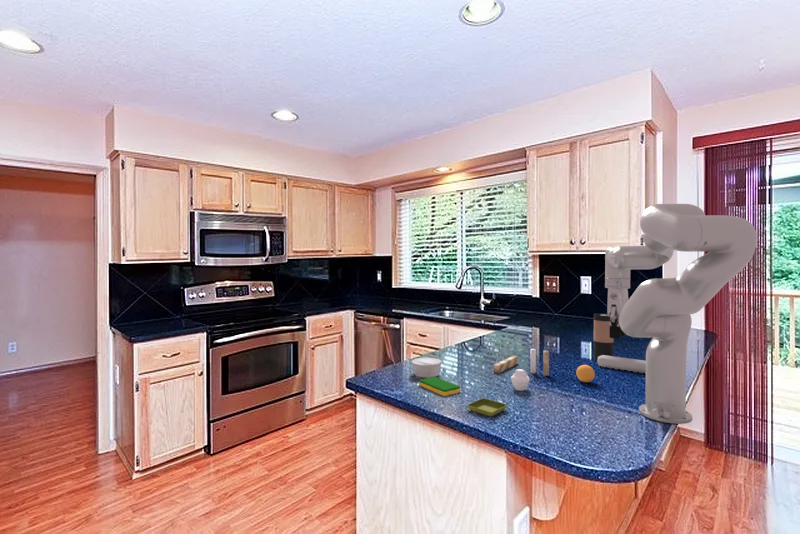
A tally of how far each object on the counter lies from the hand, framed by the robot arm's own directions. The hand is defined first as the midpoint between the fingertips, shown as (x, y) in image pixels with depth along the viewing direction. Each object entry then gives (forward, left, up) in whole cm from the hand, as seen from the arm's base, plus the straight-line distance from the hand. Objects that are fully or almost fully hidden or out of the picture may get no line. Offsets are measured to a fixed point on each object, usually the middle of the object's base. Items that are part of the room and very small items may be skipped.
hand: (617, 336), depth 140 cm
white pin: (0, +29, -18) cm, 34 cm away
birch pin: (0, +24, -18) cm, 30 cm away
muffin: (-22, +25, -18) cm, 38 cm away
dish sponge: (-38, +47, -18) cm, 63 cm away
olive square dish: (-46, +25, -18) cm, 55 cm away
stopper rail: (0, +40, -18) cm, 44 cm away
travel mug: (+35, +12, -18) cm, 41 cm away
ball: (0, +10, -15) cm, 18 cm away
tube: (+26, 0, -18) cm, 32 cm away
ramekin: (-27, +60, -18) cm, 68 cm away
